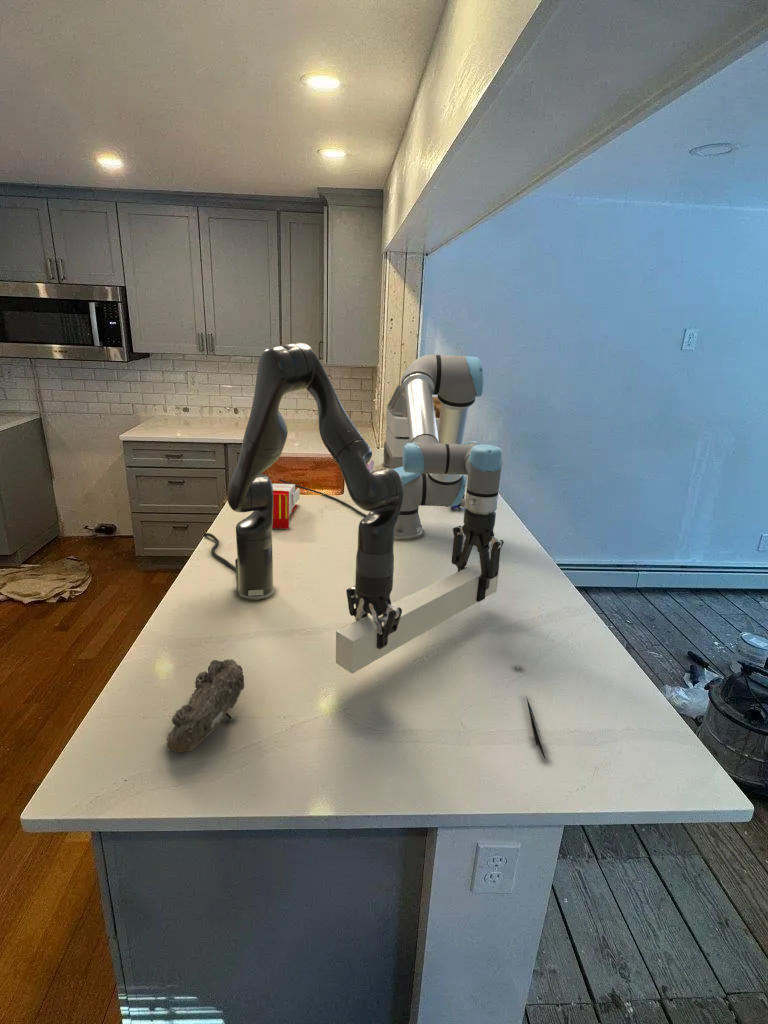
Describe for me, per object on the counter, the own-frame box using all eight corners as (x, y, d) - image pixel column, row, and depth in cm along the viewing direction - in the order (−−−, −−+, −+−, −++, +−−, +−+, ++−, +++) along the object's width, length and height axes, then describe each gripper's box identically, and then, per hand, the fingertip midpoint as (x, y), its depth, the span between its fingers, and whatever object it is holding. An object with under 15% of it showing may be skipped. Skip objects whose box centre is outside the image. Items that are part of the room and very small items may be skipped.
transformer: (382, 463, 289) (386, 382, 275) (445, 464, 293) (451, 384, 279) (390, 482, 257) (394, 392, 243) (460, 483, 261) (468, 394, 247)
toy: (301, 479, 224) (291, 492, 194) (301, 512, 226) (291, 530, 197) (270, 478, 223) (256, 491, 194) (271, 511, 226) (256, 529, 197)
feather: (518, 672, 127) (523, 666, 127) (544, 763, 101) (551, 755, 100) (512, 668, 127) (517, 662, 127) (537, 758, 101) (544, 751, 100)
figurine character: (465, 515, 224) (460, 499, 237) (467, 498, 221) (462, 483, 234) (448, 515, 224) (444, 499, 237) (450, 498, 220) (445, 482, 234)
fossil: (192, 660, 117) (244, 628, 112) (224, 691, 120) (276, 661, 115) (142, 746, 98) (202, 712, 93) (182, 779, 101) (242, 748, 96)
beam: (480, 584, 151) (483, 559, 149) (496, 591, 148) (499, 565, 146) (335, 662, 116) (335, 631, 113) (352, 673, 112) (353, 641, 110)
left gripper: (336, 561, 115) (335, 634, 120) (388, 586, 105) (384, 663, 111) (362, 551, 120) (360, 622, 126) (414, 574, 111) (409, 649, 116)
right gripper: (441, 503, 139) (434, 587, 147) (504, 523, 128) (493, 614, 136) (459, 497, 145) (451, 579, 153) (521, 516, 133) (509, 603, 141)
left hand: (371, 641), depth 118 cm, fingers closed on beam, 5 cm apart
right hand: (471, 595), depth 144 cm, fingers closed on beam, 5 cm apart
